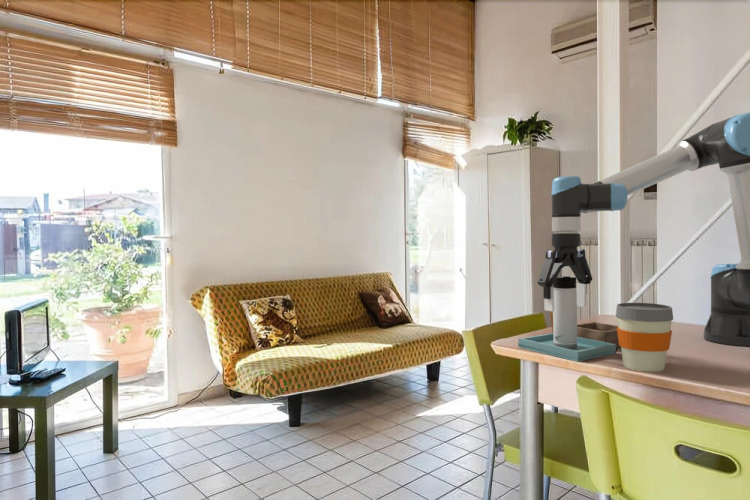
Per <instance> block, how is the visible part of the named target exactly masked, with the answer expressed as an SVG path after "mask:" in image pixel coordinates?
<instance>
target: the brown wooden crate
mask: <svg viewBox="0 0 750 500" xmlns="http://www.w3.org/2000/svg"><path fill="white" fill-rule="evenodd" d="M617 327H618V325H615V324H608V323H603V322H596V321H592V322H591V321H590V322H585V323H579V324H578V323H577V337H581V338H586V339H591V340H596V341H601V342H606V343H611V344H616V349H617V348H621V346H619V342H618V335H617Z"/></svg>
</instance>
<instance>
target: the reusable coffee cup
mask: <svg viewBox="0 0 750 500" xmlns="http://www.w3.org/2000/svg"><path fill="white" fill-rule="evenodd" d="M615 317H616V320H617V326H618V327H617V335H618V342H619V346H621V347H620V350H621V357H622V359H621V360H622V366H623V367H624V368H627V369H629V370H633V371H639V372H646V373H657V372H662V371H664V370H665V366H666V359H667V354H668V351H669V350H670V345H671V339H672V335H673V334H672V333H673V331H672V330H671V327H672V321H674V314H673V307H672V306H670V305H666V304H660V303H659V304H658V303H650V302H649V303H647V302H622V303H617V305H616V310H615Z"/></svg>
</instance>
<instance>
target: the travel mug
mask: <svg viewBox="0 0 750 500" xmlns="http://www.w3.org/2000/svg"><path fill="white" fill-rule="evenodd" d="M576 285H577V278H576V277H571V276H570V275H569V276H562V277H557V278H556V280H555V281H554V283H553V285H552V287H554V311H553V332H552V333H553V339H554V341H553V344H554V346H558V347H562V348H567V349H573V348H576V347H577V325H578V309H577V308H578V306H577V290H576V289H577V287H576Z"/></svg>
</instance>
